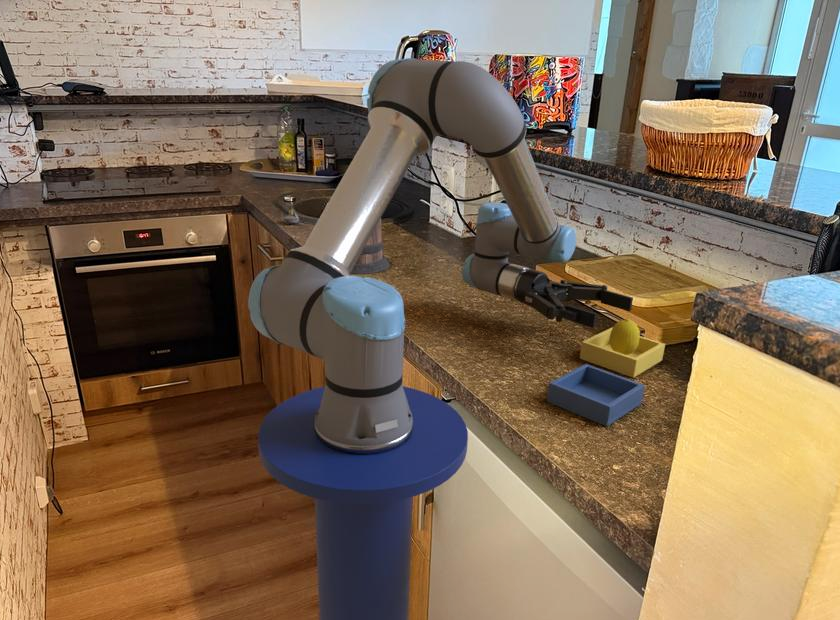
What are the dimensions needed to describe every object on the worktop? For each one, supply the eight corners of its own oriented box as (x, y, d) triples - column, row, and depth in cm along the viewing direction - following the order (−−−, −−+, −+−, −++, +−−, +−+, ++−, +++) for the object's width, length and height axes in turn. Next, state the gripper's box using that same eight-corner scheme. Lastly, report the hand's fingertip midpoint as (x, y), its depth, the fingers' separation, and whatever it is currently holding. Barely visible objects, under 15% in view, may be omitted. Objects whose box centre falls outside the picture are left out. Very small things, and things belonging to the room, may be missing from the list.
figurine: (282, 225, 224) (281, 207, 222) (284, 222, 228) (283, 204, 226) (299, 225, 225) (298, 207, 222) (299, 222, 229) (299, 204, 226)
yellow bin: (579, 358, 133) (581, 341, 132) (609, 343, 141) (612, 327, 140) (633, 377, 126) (636, 360, 125) (662, 360, 134) (665, 343, 132)
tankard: (393, 273, 180) (394, 197, 172) (329, 274, 178) (327, 197, 169) (383, 249, 201) (384, 180, 193) (326, 250, 199) (324, 180, 190)
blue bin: (546, 401, 116) (549, 382, 115) (582, 381, 124) (585, 363, 123) (606, 426, 109) (610, 407, 108) (641, 403, 117) (645, 385, 115)
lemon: (639, 363, 131) (646, 324, 128) (610, 362, 131) (617, 323, 128) (631, 351, 136) (638, 314, 133) (604, 350, 136) (609, 313, 133)
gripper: (556, 290, 155) (641, 315, 141) (486, 315, 138) (575, 347, 125) (560, 258, 152) (647, 281, 138) (489, 280, 135) (581, 308, 122)
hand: (613, 312), depth 132 cm, fingers open, 13 cm apart
